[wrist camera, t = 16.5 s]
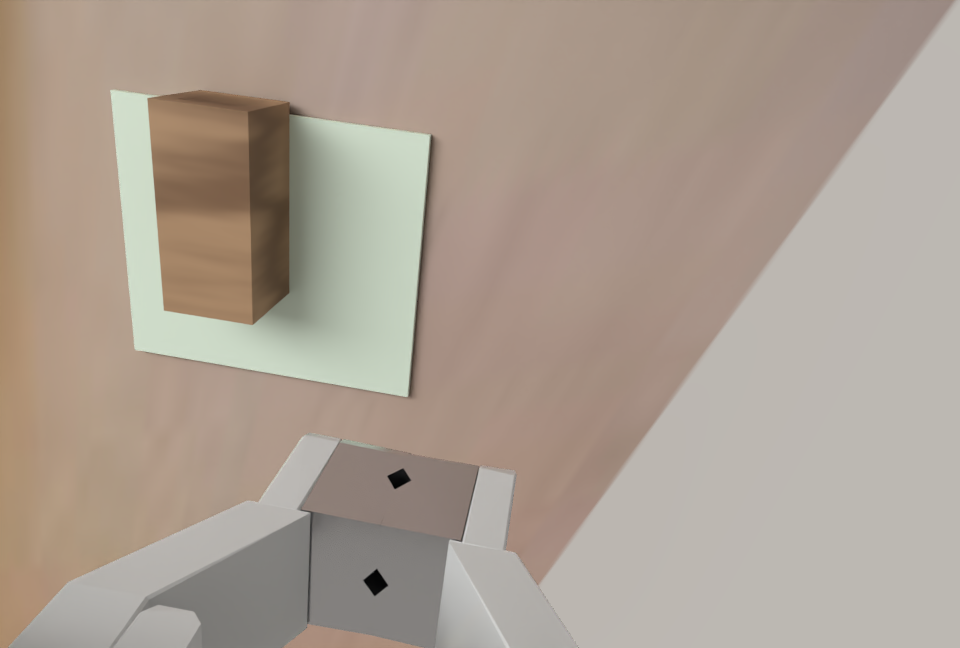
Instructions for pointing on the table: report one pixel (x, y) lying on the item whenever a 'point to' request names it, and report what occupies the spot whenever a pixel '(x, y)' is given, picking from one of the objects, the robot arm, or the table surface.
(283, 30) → the table surface
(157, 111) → the block
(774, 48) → the table surface
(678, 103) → the table surface
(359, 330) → the mat
